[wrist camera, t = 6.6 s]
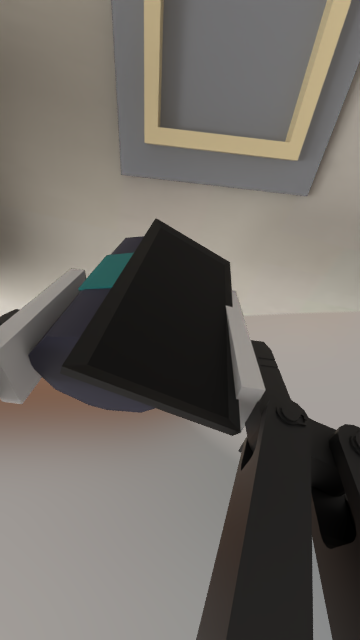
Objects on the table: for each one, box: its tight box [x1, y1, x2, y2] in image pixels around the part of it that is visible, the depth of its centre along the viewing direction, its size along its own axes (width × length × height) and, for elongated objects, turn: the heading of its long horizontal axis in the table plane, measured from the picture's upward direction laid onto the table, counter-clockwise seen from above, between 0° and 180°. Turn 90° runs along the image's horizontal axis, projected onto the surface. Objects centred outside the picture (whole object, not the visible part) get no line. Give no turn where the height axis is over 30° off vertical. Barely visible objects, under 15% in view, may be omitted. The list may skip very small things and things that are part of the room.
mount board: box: [111, 0, 360, 196], centre depth 17 cm, size 20×20×2 cm
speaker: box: [28, 219, 241, 436], centre depth 11 cm, size 8×6×10 cm
